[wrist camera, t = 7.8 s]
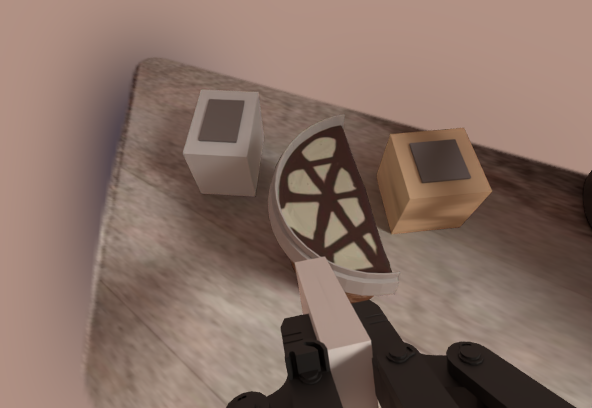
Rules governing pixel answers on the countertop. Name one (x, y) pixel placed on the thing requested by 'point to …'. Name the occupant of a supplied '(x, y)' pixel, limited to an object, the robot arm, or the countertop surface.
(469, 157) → the oak block
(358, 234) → the food container
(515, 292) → the countertop surface
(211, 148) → the grey painted block
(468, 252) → the countertop surface
